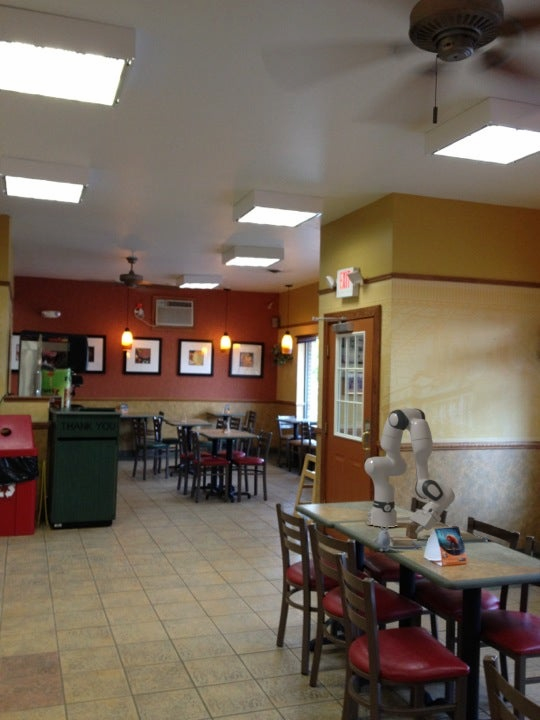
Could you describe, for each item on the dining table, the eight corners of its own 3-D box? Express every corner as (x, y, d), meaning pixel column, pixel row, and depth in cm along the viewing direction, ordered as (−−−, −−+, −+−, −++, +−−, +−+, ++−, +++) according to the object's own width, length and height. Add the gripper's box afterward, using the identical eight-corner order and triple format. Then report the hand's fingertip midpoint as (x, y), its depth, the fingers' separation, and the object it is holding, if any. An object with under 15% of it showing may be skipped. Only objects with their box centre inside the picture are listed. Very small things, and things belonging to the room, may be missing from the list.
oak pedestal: (385, 540, 333) (386, 534, 333) (404, 541, 335) (404, 534, 335) (393, 545, 323) (393, 539, 323) (412, 546, 325) (412, 539, 325)
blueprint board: (379, 541, 337) (379, 538, 337) (409, 541, 340) (409, 539, 340) (390, 548, 321) (390, 546, 321) (421, 549, 324) (421, 546, 324)
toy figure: (375, 552, 312) (376, 527, 313) (370, 549, 318) (371, 524, 319) (396, 552, 314) (397, 527, 315) (391, 549, 320) (392, 524, 321)
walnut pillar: (405, 538, 346) (406, 523, 346) (413, 538, 347) (414, 523, 347) (409, 540, 341) (409, 524, 342) (417, 540, 342) (418, 525, 342)
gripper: (418, 504, 356) (400, 522, 354) (434, 511, 336) (415, 530, 334) (426, 512, 357) (408, 530, 355) (442, 520, 337) (423, 539, 335)
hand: (411, 530), depth 344 cm, fingers open, 8 cm apart
